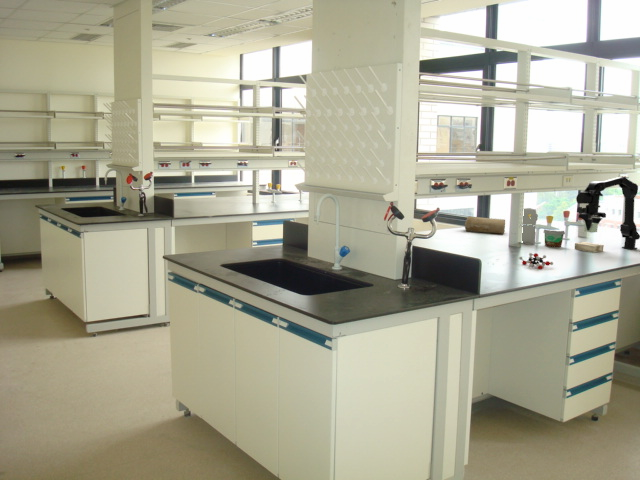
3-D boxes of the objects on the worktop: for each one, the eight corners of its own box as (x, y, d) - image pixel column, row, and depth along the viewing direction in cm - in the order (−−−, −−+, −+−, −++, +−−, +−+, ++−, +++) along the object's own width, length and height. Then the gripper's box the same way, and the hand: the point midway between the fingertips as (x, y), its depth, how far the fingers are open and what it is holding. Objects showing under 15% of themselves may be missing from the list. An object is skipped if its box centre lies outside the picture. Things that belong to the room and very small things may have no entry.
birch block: (584, 248, 368) (584, 241, 367) (603, 251, 358) (603, 244, 357) (574, 249, 362) (575, 243, 362) (593, 253, 352) (593, 246, 352)
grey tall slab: (535, 243, 377) (539, 208, 374) (534, 244, 374) (537, 209, 370) (518, 242, 382) (521, 207, 379) (516, 242, 379) (519, 207, 375)
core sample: (503, 235, 410) (505, 220, 408) (464, 232, 420) (465, 217, 418) (506, 232, 422) (507, 218, 421) (468, 229, 433) (469, 215, 431)
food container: (540, 246, 368) (542, 230, 367) (542, 244, 374) (543, 228, 372) (562, 248, 363) (564, 231, 361) (563, 247, 368) (565, 230, 366)
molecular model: (544, 263, 315) (559, 263, 301) (525, 276, 314) (539, 276, 299) (534, 246, 315) (549, 245, 300) (515, 259, 314) (528, 258, 299)
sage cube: (589, 230, 362) (590, 222, 361) (597, 232, 358) (597, 223, 357) (584, 231, 359) (585, 222, 358) (591, 232, 355) (592, 224, 354)
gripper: (590, 201, 367) (587, 227, 370) (571, 202, 357) (568, 228, 360) (607, 203, 358) (604, 229, 361) (588, 204, 348) (585, 231, 351)
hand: (590, 230), depth 358 cm, fingers closed on sage cube, 5 cm apart
